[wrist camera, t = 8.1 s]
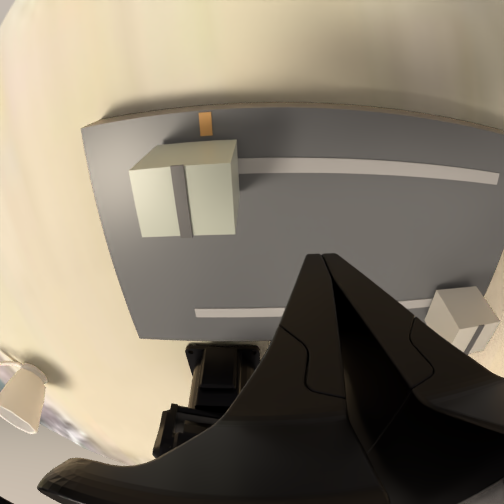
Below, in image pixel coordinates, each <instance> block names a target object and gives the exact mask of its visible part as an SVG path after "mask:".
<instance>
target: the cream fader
mask: <svg viewBox="0 0 504 504" xmlns="http://www.w3.org/2000/svg"><path fill="white" fill-rule="evenodd" d="M425 322H426V324H427V326H429V327H430V328H431V329H433V330H434V331H435V332H436V333H438V334H439V335H440V336H441V337H443V338H444V339H446V340H447V341H448V342H450V343H451V344H452V345H454V346H455V347H457V348H458V349H459V350H461V351H462V352H464V353H465V354H466V355H468V354H471V353H475V352H479V351H483V350H484V349H485V347H486V345H487V344H488V342H489V341H490V339H491V337H492V336H493V334H494V332H495V330H496V329H497V327H498V325H499V323H500V320H499V319H498V317H497V316H496V314H495V313H494V311H493V310H492V308H491V307H490V305H489V304H488V302H487V301H486V299H485V298H484V297H483V295H482V294H481V292H480V291H479V289H478V288H477V287H476V286H472V287H462V288H452V289H441V290H436V292H435V295H434V297H433V300H432V303H431V305H430V308H429V310H428V313H427V315H426V317H425Z"/></svg>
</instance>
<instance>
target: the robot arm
mask: <svg viewBox="0 0 504 504" xmlns="http://www.w3.org/2000/svg"><path fill="white" fill-rule="evenodd" d="M414 317H415V315H414V314H413V313H412V312H410V311H409V310H408V309H407V308H405V307H404V306H403V305H402V304H400V303H399V302H398V301H397V300H395V299H394V298H393V297H392V296H391V295H389V294H388V293H387V292H386V291H384V290H383V289H382V288H380V287H379V286H378V285H377V284H375V283H374V282H373V281H372V280H370V279H369V278H368V277H366V276H365V275H364V274H363V273H361V272H360V271H359V270H357V269H356V268H355V267H354V266H352V265H351V264H350V263H348V262H347V261H346V260H344V259H343V258H342V257H341V256H339V255H338V254H336V253H323V254H322V255H321V254H319V253H318V254H307V255H306V256H305V259H304V262H303V264H302V267H301V269H300V272H299V275H298V277H297V280H296V282H295V285H294V287H293V290H292V292H291V295H290V298H289V300H288V303H287V305H286V308H285V310H284V313H283V315H282V317H281V320H280V322H279V325H278V327H277V329H276V332H275V334H274V336H273V339H272V341H271V343H270V345H269V347H268V349H267V351H266V353H265V355H264V356H263V358H262V360H261V361H260V349H259V347H257V346H205V345H188V346H187V347H186V350H185V352H186V356H187V359H188V363H189V366H190V369H191V373H192V376H193V379H192V385H191V392H190V398H189V405H188V407H183V406H178V404H173V403H172V404H171V408H170V410H167V411H163V413H162V418H161V423H160V427H159V431H158V435H157V438H156V441H155V445H154V448H153V456H154V457H155V458H156V459H154V460H152V461H149V462H147V463H143V464H139V465H134V466H117V465H110V464H105V463H102V462H98V461H93V460H89V459H84V458H70V459H68V460H67V461H65V462H63V463H62V464H60V465H59V466H57V467H55V468H54V469H52V470H51V471H50V472H49V473H47V474H46V475H45V477H44V478H43V479H42V480H41V481H40V483H39V484H38V486H37V489H38V490H39V491H40V492H41V493H43V494H44V495H46V496H48V497H50V498H51V499H53V500H56V501H57V502H59V503H61V504H504V378H503V377H500V376H498V375H496V374H494V373H492V372H491V371H489V370H487V369H486V368H485V367H483V366H482V365H481V364H479V363H478V362H476V361H475V360H474V359H472V358H471V357H469V356H468V355H466V354H465V353H464V352H462V351H461V350H459V349H458V348H457V347H455V346H454V345H452V344H451V343H450V342H448V341H447V340H446V339H444V338H443V337H441V336H440V335H439V334H438V333H436V332H435V331H434V330H433V329H431V328H430V327H429V326H427V325H426V324H425V323H424V322H423V321H421V320H420V319H419V318H418V317H415V318H414ZM0 504H13V503H11V502H10V501H8V500H6V499H4V498H2V497H1V496H0Z"/></svg>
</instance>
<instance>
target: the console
mask: <svg viewBox="0 0 504 504" xmlns="http://www.w3.org/2000/svg"><path fill="white" fill-rule="evenodd" d="M81 133H82V139H83V144H84V150H85V155H86V160H87V165H88V170H89V174H90V179H91V184H92V188H93V192H94V196H95V201H96V205H97V209H98V213H99V216H100V220H101V224H102V228H103V231H104V235H105V238H106V242H107V245H108V249H109V252H110V255H111V259H112V262H113V265H114V268H115V271H116V274H117V277H118V280H119V283H120V286H121V289H122V292H123V295H124V298H125V301H126V304H127V306H128V309H129V312H130V315H131V317H132V320H133V323H134V325H135V328H136V330H137V333H138V335H139V338H141V339H160V340H186V341H272V339H273V336H274V334H275V332H276V329H277V327H278V325H279V322H280V320H281V317H282V315H283V313H284V310H285V308H286V305H287V303H288V300H289V298H290V295H291V292H292V290H293V287H294V285H295V282H296V280H297V277H298V275H299V272H300V269H301V267H302V264H303V262H304V259H305V256H306V255H307V254H318V253H319V254H321V255H322V254H323V253H336V254H338V255H339V256H341V257H342V258H343V259H344V260H346V261H347V262H348V263H350V264H351V265H352V266H354V267H355V268H356V269H357V270H359V271H360V272H361V273H363V274H364V275H365V276H366V277H368V278H369V279H370V280H372V281H373V282H374V283H375V284H377V285H378V286H379V287H380V288H382V289H383V290H384V291H386V292H387V293H388V294H389V295H391V296H392V297H393V298H394V299H395V300H397V301H398V302H399V303H400V304H402V305H403V306H404V307H405V308H407V309H408V310H409V311H410V312H412V313H413V314H414V315H415V317H418V318H419V319H420V320H421V321H423V322H424V323H425V324H426V322H425V317H426V315H427V313H428V310H429V308H430V305H431V303H432V300H433V297H434V295H435V292H436V290H441V289H452V288H462V287H472V286H476V287H477V288H478V289H479V291H480V292H481V294H482V295H483V297H484V295H485V293H486V291H487V288H488V286H489V284H490V282H491V279H492V277H493V275H494V272H495V270H496V267H497V265H498V262H499V260H500V257H501V254H502V252H503V249H504V131H503V130H499V129H495V128H492V127H488V126H484V125H479V124H475V123H471V122H466V121H462V120H457V119H452V118H447V117H441V116H436V115H430V114H424V113H418V112H411V111H404V110H397V109H389V108H380V107H370V106H359V105H347V104H331V103H306V102H256V103H230V104H214V105H201V106H190V107H180V108H171V109H163V110H155V111H148V112H141V113H135V114H128V115H123V116H117V117H111V118H106V119H101V120H98V121H96V122H94V123H91V124H89V125H87V126H85V127H83V128H81ZM232 139H237V154H238V173H239V192H240V198H239V206H238V215H237V224H236V232H235V234H229V235H194V236H193V238H181V236H164V237H142V234H141V230H140V225H139V221H138V216H137V211H136V207H135V202H134V197H133V192H132V186H131V181H130V176H129V170H130V169H131V168H132V167H133V166H134V165H135V164H136V163H138V162H139V161H140V160H141V159H142V158H143V157H144V156H145V155H146V154H148V153H149V152H150V151H151V150H152V149H153V148H154V147H156V146H157V145H164V144H174V143H185V142H198V141H213V140H232ZM415 317H414V318H415ZM426 325H427V324H426Z"/></svg>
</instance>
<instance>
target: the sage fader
mask: <svg viewBox="0 0 504 504" xmlns="http://www.w3.org/2000/svg"><path fill="white" fill-rule="evenodd" d="M129 176H130V181H131V186H132V192H133V197H134V202H135V207H136V211H137V216H138V221H139V225H140V230H141V234H142V237H164V236H181V238H193V236H194V235H229V234H235V232H236V224H237V215H238V206H239V198H240V192H239V173H238V154H237V139H232V140H213V141H198V142H185V143H174V144H164V145H157V146H156V147H154V148H153V149H152V150H151V151H150V152H149V153H148V154H146V155H145V156H144V157H143V158H142V159H141V160H140V161H139V162H138V163H136V164H135V165H134V166H133V167H132V168H131V169H130V170H129Z"/></svg>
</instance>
